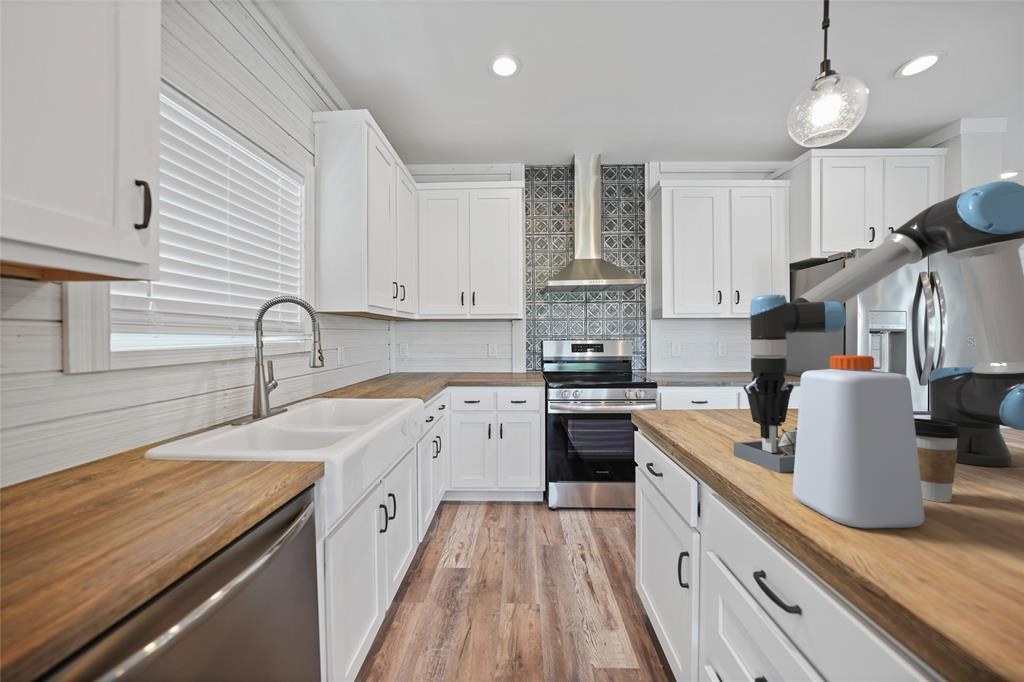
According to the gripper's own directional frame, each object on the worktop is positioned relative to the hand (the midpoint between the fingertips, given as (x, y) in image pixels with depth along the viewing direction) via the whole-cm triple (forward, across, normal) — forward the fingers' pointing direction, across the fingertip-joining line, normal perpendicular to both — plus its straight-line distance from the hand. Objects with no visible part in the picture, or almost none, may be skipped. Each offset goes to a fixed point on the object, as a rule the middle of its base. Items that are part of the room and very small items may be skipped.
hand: (769, 451), depth 99 cm
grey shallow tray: (+3, -5, 0) cm, 6 cm away
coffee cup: (+3, -12, +25) cm, 28 cm away
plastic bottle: (+3, +9, +27) cm, 28 cm away
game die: (+3, -8, 0) cm, 8 cm away
